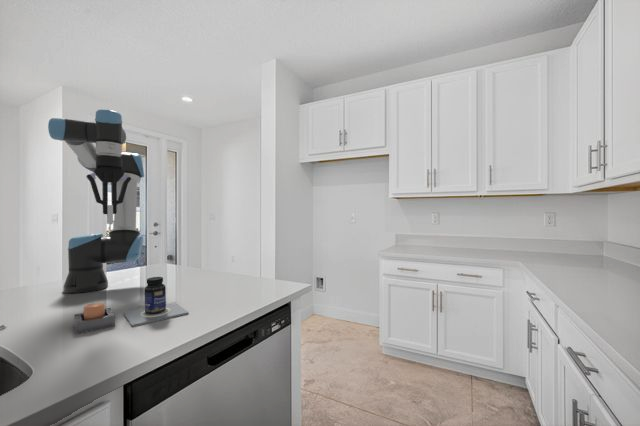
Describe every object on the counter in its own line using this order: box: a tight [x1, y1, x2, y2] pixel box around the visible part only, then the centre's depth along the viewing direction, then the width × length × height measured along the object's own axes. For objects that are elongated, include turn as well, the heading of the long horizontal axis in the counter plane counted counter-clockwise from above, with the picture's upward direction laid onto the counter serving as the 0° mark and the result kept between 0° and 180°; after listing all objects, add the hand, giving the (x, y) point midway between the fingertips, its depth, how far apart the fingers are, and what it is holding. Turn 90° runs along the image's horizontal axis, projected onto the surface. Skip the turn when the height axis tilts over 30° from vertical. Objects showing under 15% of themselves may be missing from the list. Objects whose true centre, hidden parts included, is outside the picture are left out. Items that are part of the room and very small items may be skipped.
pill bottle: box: [143, 276, 167, 314], centre depth 98 cm, size 6×6×11 cm
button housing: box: [73, 307, 116, 335], centre depth 89 cm, size 9×9×3 cm
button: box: [83, 302, 106, 320], centre depth 89 cm, size 5×5×5 cm
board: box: [122, 301, 189, 327], centre depth 98 cm, size 14×16×1 cm
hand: (109, 223), depth 104 cm, fingers closed
